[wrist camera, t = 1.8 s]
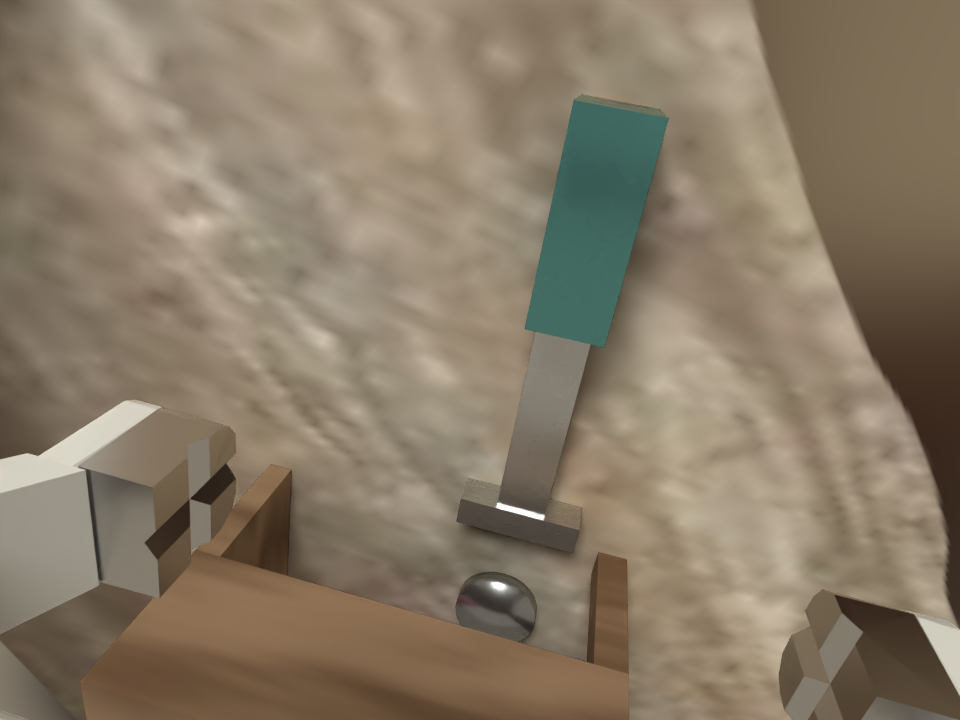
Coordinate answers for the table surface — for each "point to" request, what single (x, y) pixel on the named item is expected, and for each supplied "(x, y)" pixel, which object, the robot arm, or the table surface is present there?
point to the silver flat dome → (497, 606)
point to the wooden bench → (338, 646)
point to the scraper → (571, 310)
